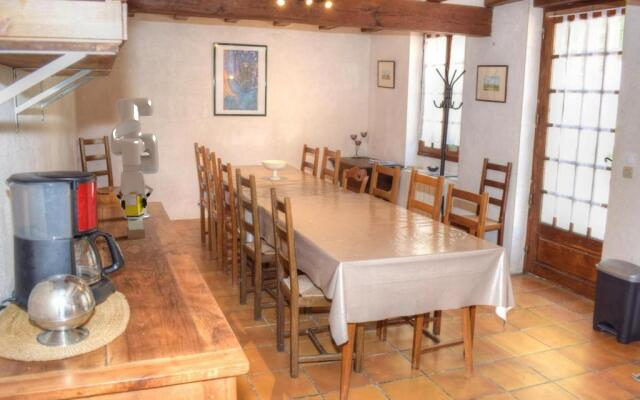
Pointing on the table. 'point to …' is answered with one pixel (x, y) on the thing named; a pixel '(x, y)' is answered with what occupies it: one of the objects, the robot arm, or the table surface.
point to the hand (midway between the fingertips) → (134, 208)
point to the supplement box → (134, 205)
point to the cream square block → (135, 223)
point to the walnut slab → (135, 233)
